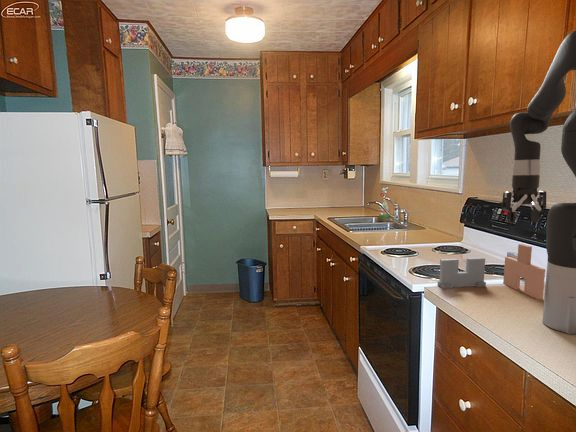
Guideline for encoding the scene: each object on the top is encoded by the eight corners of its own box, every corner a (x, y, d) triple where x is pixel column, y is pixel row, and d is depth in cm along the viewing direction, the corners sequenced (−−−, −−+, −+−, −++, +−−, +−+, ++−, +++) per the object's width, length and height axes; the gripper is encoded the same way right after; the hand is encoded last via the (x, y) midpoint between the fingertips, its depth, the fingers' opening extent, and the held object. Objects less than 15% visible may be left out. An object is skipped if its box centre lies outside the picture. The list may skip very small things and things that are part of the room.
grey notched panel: (478, 282, 130) (480, 256, 129) (485, 286, 126) (487, 259, 125) (437, 285, 129) (438, 258, 127) (443, 288, 125) (444, 261, 123)
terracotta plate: (542, 299, 113) (546, 250, 111) (538, 299, 113) (542, 251, 111) (507, 283, 129) (510, 240, 127) (503, 283, 129) (506, 240, 127)
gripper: (514, 174, 112) (511, 224, 114) (555, 173, 114) (551, 223, 116) (498, 174, 120) (495, 221, 122) (536, 173, 121) (533, 220, 123)
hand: (522, 222), depth 119 cm, fingers open, 8 cm apart
